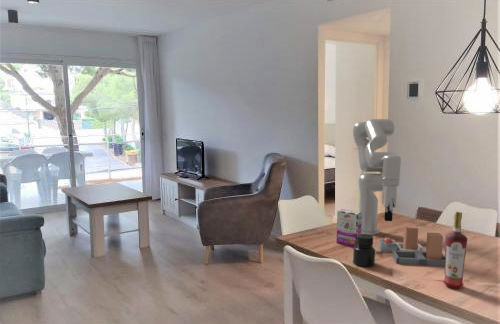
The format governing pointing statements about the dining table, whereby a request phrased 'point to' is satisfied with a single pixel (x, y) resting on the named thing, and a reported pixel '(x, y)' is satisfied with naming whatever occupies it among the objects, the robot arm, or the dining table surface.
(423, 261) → the grey two-slot rack
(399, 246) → the light grey square frame
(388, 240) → the red egg shape
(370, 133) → the robot arm
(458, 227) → the liquor
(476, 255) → the dining table surface
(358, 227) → the candy bar box
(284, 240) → the dining table surface
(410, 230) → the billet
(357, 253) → the ink bottle
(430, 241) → the block
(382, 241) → the grey square holder
